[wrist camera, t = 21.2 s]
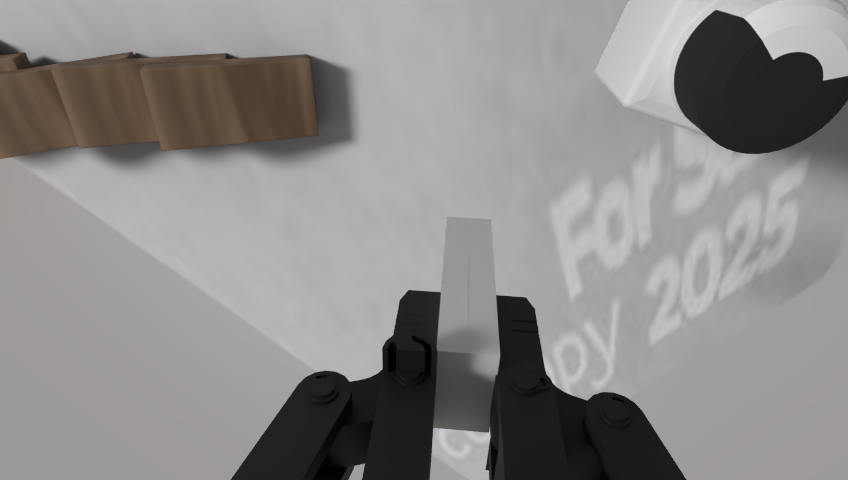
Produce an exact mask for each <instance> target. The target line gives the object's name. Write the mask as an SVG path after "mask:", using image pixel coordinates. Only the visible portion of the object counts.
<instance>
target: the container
mask: <svg viewBox="0 0 848 480" xmlns="http://www.w3.org/2000/svg"><path fill="white" fill-rule="evenodd" d="M595 75H596V76H597V77H598V79H599V80H600V81H601V82H602V83H603V84H604V85H605V86H606V87H607V88H608V89H609V90H610V92H611V93H612V94H613V95H614V96H615V97H616V98H617V99H618V100H619V101H620V102H621V103H622V105H623V106H625V107H626V108H628V109H631V110H634V111H637V112H640V113H643V114H645V115H648V116H651V117H654V118H657V119H660V120H663V121H665V122H668V123H671V124H674V125H677V126H680V127H683V128H685V129H688V130H691V131H694V132H697V133H700V134H703V135H705V136H708V137H710V138H711V139H712V140H713V141H715V142H716V143H717V144H719V145H720V146H722V147H724V148H727V149H729V150H732V151H735V152H740V153H746V154H760V153H769V152H773V151H778V150H781V149H784V148H787V147H790V146H792V145H795V144H797V143H799V142H801V141H803V140H804V139H806V138H808V137H810V136H811V135H813V134H814V133H816V132H817V131H818V130H820V129H821V128H822V127H823V126H825V125H826V124H827V123H828V122H829V121H830V120H831V119H832V118H833V117H834V116H835V115H836V114H837V113H838V112H839V111H840V109H841V108H842V107H843V105H844V104H845V103H846V102H847V100H848V12H847V11H845V5H844V4H843V3H841V2H840V1H837V0H629V1H628V3H627V5H626V7H625V9H624V11H623V13H622V15H621V17H620V19H619V22H618V24H617V26H616V28H615V30H614V32H613V34H612V36H611V38H610V40H609V42H608V44H607V47H606V49H605V51H604V53H603V55H602V57H601V59H600V61H599V63H598V65H597V67H596V70H595Z"/></svg>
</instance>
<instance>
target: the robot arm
mask: <svg viewBox="0 0 848 480" xmlns="http://www.w3.org/2000/svg"><path fill="white" fill-rule="evenodd" d="M382 352H383V370H381V371H380V372H379V373H378V374H376V375H374V376H372V377H370V378H367V379H363V380H358V381H352V382H349V381H348V380H347V378H346V377H345V376H343V375H341V374H339V373H337V372H332V371H322V372H316V373H313V374H311V375H309V376H307V377H306V378H304V379H303V380H302V381H301V383H299V384H298V386H297V387H296V389H295V390H294V391H293V393H292V394H291V396H290V397H289V398H288V400H287V401H286V403H285V404H284V405H283V407H282V408H281V410H280V411H279V413H278V414H277V415H276V417H275V418H274V420H273V421H272V422H271V424H270V425H269V427H268V428H267V430H266V431H265V432H264V434H263V435H262V437H261V438H260V439H259V441H258V442H257V443H256V445H255V446H254V448H253V449H252V451H251V452H250V453H249V455H248V456H247V458H246V459H245V461H244V462H243V463H242V465H241V466H240V468H239V469H238V470H237V472H236V473H235V475H234V476H233V477H232V479H231V480H348V479H349V477H350V475H351V473H352V471H353V469H354V466H355V465H360V464H364V463H365V467H364V473H363V478H362V480H429V479H430V467H431V466H430V465H431V453H432V437H433V428H443V429H454V430H466V431H478V432H489V428H490V434H491V438H490V445H489V451H488V458H487V465H486V470H489V480H686V478H685V477H684V475H683V474H682V472H681V471H680V469H679V468H678V466H677V465H676V463H675V461H674V460H673V458H672V457H671V455H670V454H669V452H668V450H667V449H666V447H665V446H664V445H663V443H662V441H661V440H660V438H659V437H658V435H657V433H656V432H655V430H654V429H653V427H652V426H651V424H650V423H649V421H648V419H647V418H646V416H645V415H644V413H643V412H642V410H641V409H640V408H639V407H638V406H637V405H636V404H635V403H634V402H633V401H631V400H629V399H628V398H626V397H625V396H622V395H619V394H616V393H608V392H602V393H598V394H595V395H593V396H592V397H591V398H590V399H589V400H588V401H586V400H583V399H581V398H578V397H575V396H572V395H569V394H567V393H565V392H563V391H561V390H560V389H558V388H557V387H556V386H555V385H554V384H553V383H552V381H551V379H550V378H549V377H548V376H547V375H546V372H545V368H544V362H543V356H542V350H541V344H540V338H539V334H538V326H537V320H536V314H535V309H534V307H533V306H532V305H531V304H530V302H529V301H528V300H527V298H526V297H512V296H498V295H496V287H495V272H494V257H493V243H492V228H491V220H489V219H473V218H458V217H447V226H446V238H445V250H444V263H443V275H442V287H441V292H428V291H414V290H408V292H407V293H406V294H405V295H404V296H403V297H402V298H401V300H400V303H399V308H398V314H397V318H396V324H395V329H394V334H393V336H392V337H390V338H389V339H388V340H387V341H386V342H385V344H384V346H383V348H382Z"/></svg>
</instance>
